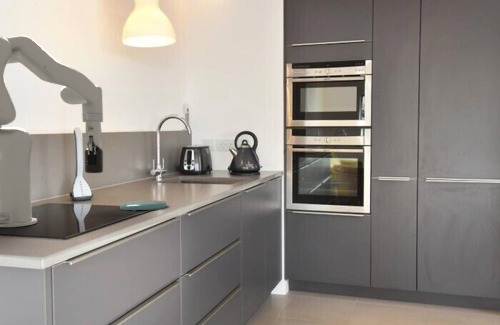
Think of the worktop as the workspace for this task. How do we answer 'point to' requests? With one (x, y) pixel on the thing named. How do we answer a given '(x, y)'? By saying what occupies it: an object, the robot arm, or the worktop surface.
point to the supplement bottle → (99, 166)
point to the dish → (143, 205)
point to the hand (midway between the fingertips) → (93, 164)
